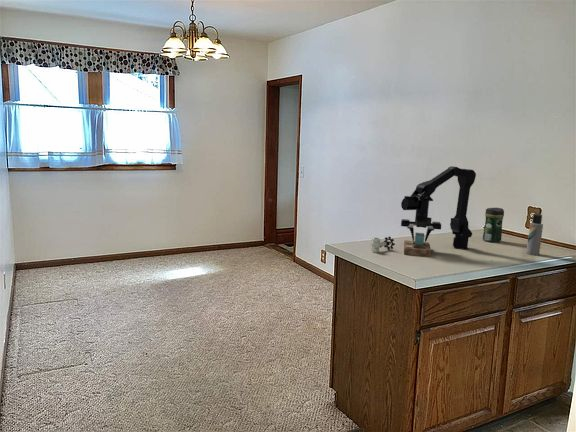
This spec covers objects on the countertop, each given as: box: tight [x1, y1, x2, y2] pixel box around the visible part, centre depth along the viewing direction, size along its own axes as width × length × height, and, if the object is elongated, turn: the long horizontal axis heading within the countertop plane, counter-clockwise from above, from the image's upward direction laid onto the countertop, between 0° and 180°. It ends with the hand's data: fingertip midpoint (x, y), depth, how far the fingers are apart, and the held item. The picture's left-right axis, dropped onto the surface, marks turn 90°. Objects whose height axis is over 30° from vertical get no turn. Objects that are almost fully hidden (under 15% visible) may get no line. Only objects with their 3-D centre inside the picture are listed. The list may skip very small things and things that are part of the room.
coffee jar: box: [482, 207, 505, 243], centre depth 262 cm, size 10×8×19 cm
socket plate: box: [403, 239, 432, 258], centre depth 231 cm, size 12×18×3 cm, turn 166°
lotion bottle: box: [526, 213, 544, 256], centre depth 235 cm, size 6×6×20 cm
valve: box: [370, 236, 396, 253], centre depth 228 cm, size 7×7×12 cm
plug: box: [414, 232, 425, 245], centre depth 234 cm, size 4×4×8 cm
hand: (419, 241), depth 234 cm, fingers open, 5 cm apart
